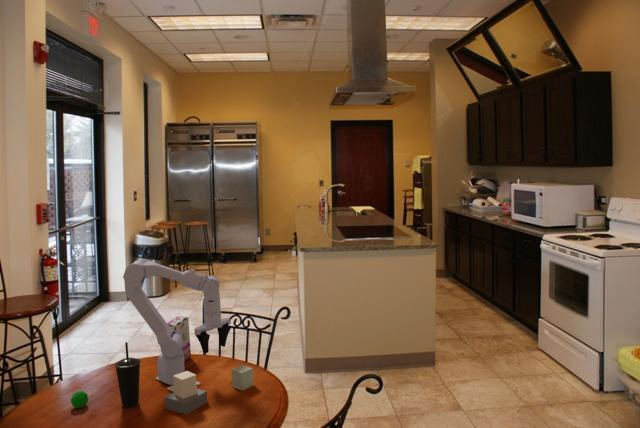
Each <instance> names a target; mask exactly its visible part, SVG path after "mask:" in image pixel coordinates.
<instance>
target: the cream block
mask: <svg viewBox="0 0 640 428" xmlns="http://www.w3.org/2000/svg"><path fill="white" fill-rule="evenodd" d="M173 381H174V395H176V396H178V397H180V398H182V399H184V398H187V397H189V396H192V395H195V394H197V389H198V386H197V382H198V380H197V374H196V373H193V372H191V371H188V370H185V372H182V373H179V374H177V375H174V376H173Z"/></svg>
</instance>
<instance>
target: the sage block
mask: <svg viewBox="0 0 640 428" xmlns="http://www.w3.org/2000/svg"><path fill="white" fill-rule="evenodd" d="M231 386H232V388H235V389H237V390H240V391H245V390H247V389H249V388H252V387H254V368H252V367H251V366H247V365H244V364H242V365H240V366H237V367H235V368H232V369H231Z"/></svg>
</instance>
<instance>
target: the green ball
mask: <svg viewBox="0 0 640 428" xmlns="http://www.w3.org/2000/svg"><path fill="white" fill-rule="evenodd" d="M88 402H89V396H88V393H87V392H85V391H83V390H78V391H76V392H75V393H74V394H72V396H71V398H70V403H71V405H72V407H73V408H76V409H80V408H81V407H82V408H83V407H85V405H87V404H88ZM82 408H81V409H82Z"/></svg>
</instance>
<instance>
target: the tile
mask: <svg viewBox="0 0 640 428" xmlns="http://www.w3.org/2000/svg"><path fill="white" fill-rule="evenodd" d="M200 385H201V382H199V381H197V387H198V386H200ZM166 390H167V391H170V392H171V393H173V392H174V385H170V386H168V387H167V388H166Z"/></svg>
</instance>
